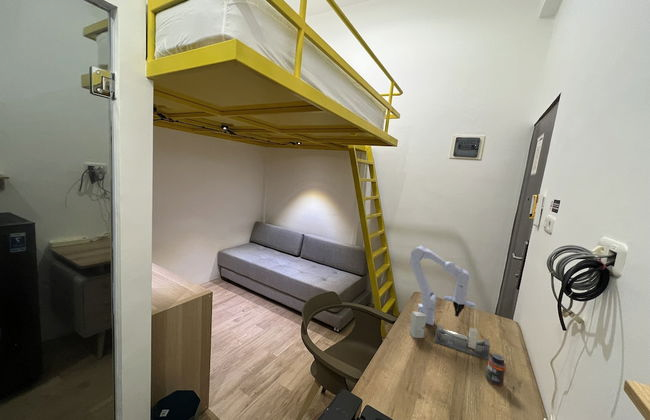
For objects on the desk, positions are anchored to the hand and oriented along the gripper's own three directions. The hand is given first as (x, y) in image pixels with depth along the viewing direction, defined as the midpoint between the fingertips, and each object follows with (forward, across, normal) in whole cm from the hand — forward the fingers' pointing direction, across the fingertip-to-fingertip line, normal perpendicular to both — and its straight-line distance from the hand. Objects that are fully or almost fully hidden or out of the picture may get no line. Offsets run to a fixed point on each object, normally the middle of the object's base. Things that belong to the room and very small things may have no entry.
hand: (456, 315), depth 133 cm
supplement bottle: (+10, +14, -31) cm, 35 cm away
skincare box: (+10, -18, -16) cm, 26 cm away
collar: (+8, +7, -11) cm, 15 cm away
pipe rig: (+9, +3, -11) cm, 15 cm away
